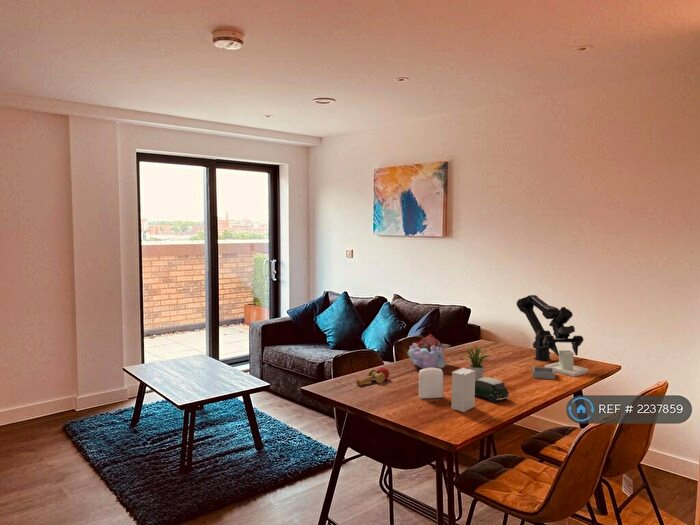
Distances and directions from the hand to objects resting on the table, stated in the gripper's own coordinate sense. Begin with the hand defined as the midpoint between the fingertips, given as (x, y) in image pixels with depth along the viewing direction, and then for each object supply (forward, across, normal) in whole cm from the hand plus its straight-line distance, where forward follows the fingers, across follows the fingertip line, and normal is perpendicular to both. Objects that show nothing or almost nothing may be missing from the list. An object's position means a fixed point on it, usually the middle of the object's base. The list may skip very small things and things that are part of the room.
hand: (567, 355), depth 250 cm
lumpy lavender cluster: (0, -68, +13) cm, 69 cm away
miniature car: (+34, -50, -21) cm, 64 cm away
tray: (+5, 0, +7) cm, 8 cm away
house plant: (+16, -49, -4) cm, 52 cm away
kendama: (+20, -96, -7) cm, 99 cm away
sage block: (+4, 0, +6) cm, 8 cm away
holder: (+11, -14, +1) cm, 18 cm away
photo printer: (+34, -74, -22) cm, 84 cm away
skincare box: (+44, -63, -32) cm, 83 cm away
